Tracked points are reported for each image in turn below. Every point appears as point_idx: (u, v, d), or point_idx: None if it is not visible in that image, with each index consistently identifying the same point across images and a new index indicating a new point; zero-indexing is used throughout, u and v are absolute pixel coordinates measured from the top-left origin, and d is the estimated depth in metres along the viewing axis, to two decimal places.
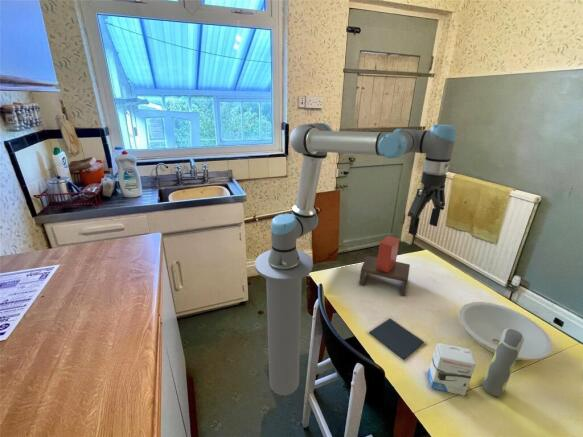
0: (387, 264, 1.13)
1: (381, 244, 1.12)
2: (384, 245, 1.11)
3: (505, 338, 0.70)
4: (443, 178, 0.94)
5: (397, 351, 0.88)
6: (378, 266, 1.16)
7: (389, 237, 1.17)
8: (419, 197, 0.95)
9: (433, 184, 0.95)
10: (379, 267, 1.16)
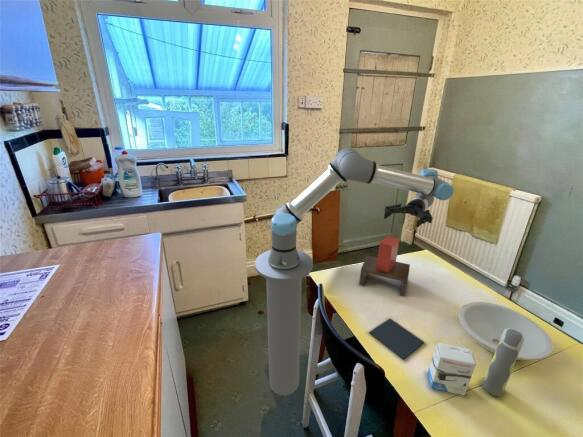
0: (387, 264, 1.13)
1: (381, 244, 1.12)
2: (384, 245, 1.11)
3: (505, 338, 0.70)
4: None
5: (397, 351, 0.88)
6: (378, 266, 1.16)
7: (389, 237, 1.17)
8: None
9: None
10: (379, 267, 1.16)
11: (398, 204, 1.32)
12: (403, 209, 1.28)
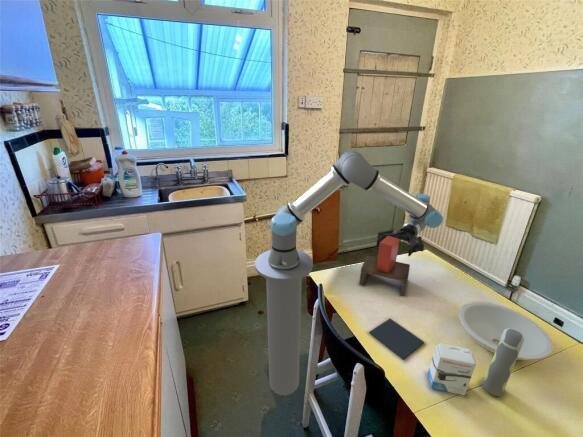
0: (387, 264, 1.13)
1: (381, 244, 1.12)
2: (384, 245, 1.11)
3: (505, 338, 0.70)
4: None
5: (397, 351, 0.88)
6: (378, 266, 1.16)
7: (389, 237, 1.17)
8: None
9: None
10: (379, 267, 1.16)
11: (391, 229, 1.34)
12: (395, 235, 1.30)
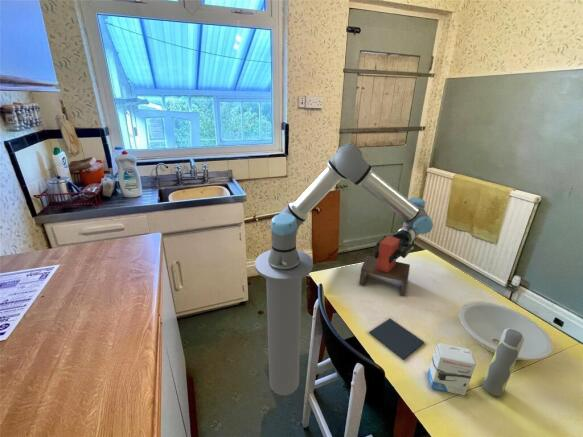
0: (387, 264, 1.13)
1: (381, 244, 1.12)
2: (384, 245, 1.11)
3: (505, 338, 0.70)
4: None
5: (397, 351, 0.88)
6: (378, 266, 1.16)
7: (389, 237, 1.17)
8: (410, 249, 1.19)
9: None
10: (379, 267, 1.16)
11: (384, 237, 1.26)
12: None
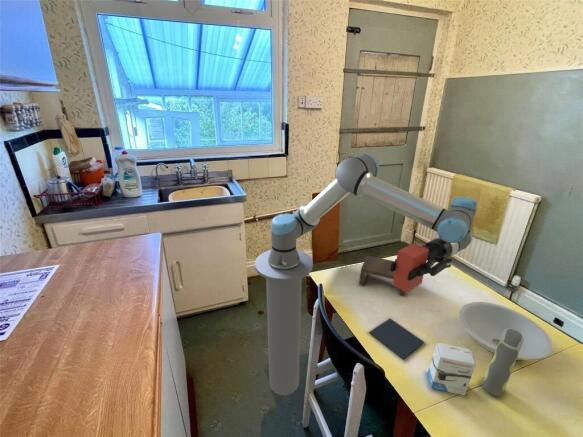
0: (407, 282, 0.83)
1: (400, 253, 0.83)
2: (404, 255, 0.82)
3: (505, 338, 0.70)
4: None
5: (397, 351, 0.88)
6: (395, 282, 0.86)
7: (415, 245, 0.86)
8: (445, 265, 0.86)
9: None
10: (396, 284, 0.86)
11: None
12: None
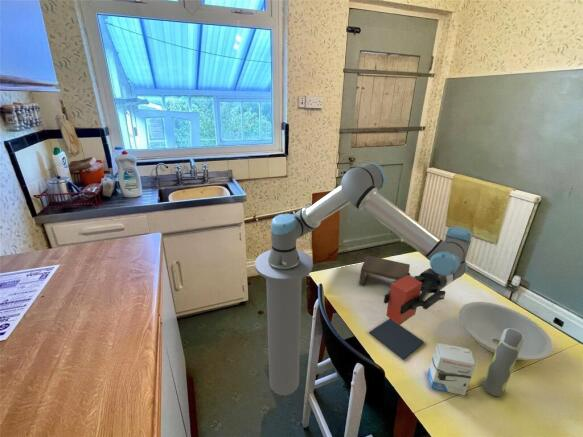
0: (400, 314, 0.85)
1: (393, 286, 0.84)
2: (397, 289, 0.83)
3: (505, 338, 0.70)
4: None
5: (397, 351, 0.88)
6: (388, 313, 0.88)
7: (408, 278, 0.87)
8: (438, 298, 0.87)
9: None
10: (390, 315, 0.88)
11: None
12: None
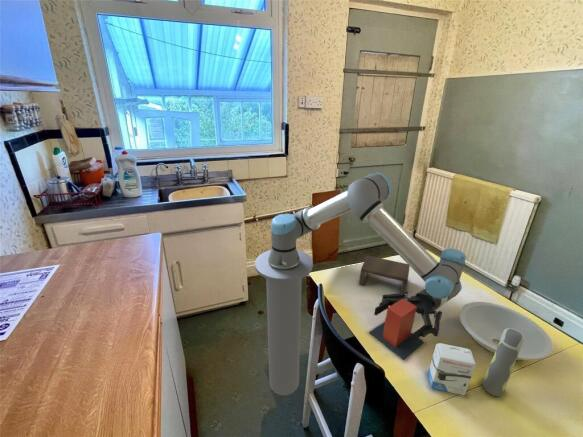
0: (395, 337, 0.88)
1: (389, 310, 0.88)
2: (392, 313, 0.87)
3: (505, 338, 0.70)
4: None
5: (397, 351, 0.88)
6: (384, 336, 0.92)
7: (403, 301, 0.91)
8: None
9: None
10: (386, 338, 0.91)
11: (403, 293, 1.01)
12: None
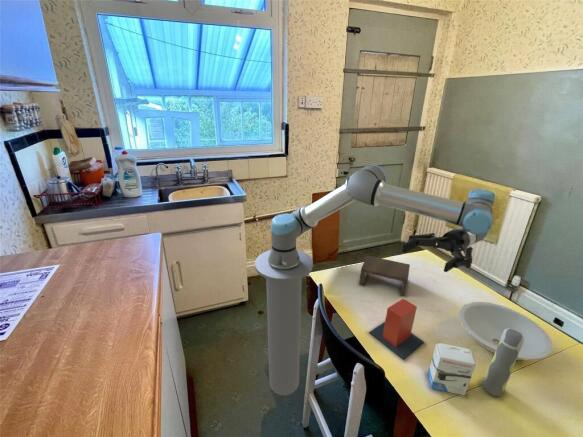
0: (395, 337, 0.88)
1: (389, 310, 0.88)
2: (392, 313, 0.87)
3: (505, 338, 0.70)
4: None
5: (397, 351, 0.88)
6: (384, 336, 0.92)
7: (403, 301, 0.91)
8: None
9: None
10: (386, 338, 0.91)
11: (430, 234, 0.98)
12: (434, 242, 0.95)
